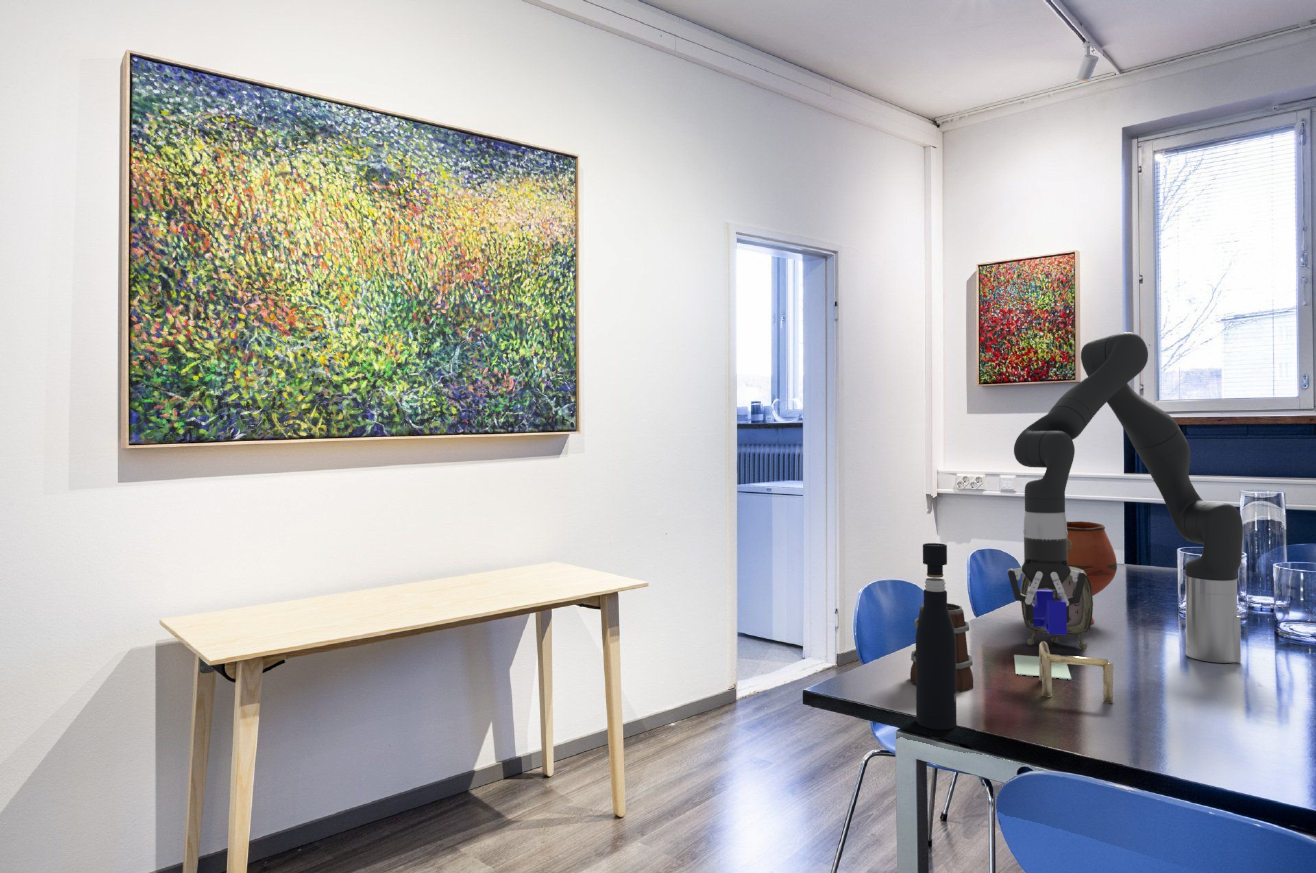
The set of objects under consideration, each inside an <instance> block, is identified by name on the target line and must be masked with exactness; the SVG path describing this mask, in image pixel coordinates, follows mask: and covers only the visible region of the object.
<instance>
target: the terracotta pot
mask: <svg viewBox="0 0 1316 873" xmlns="http://www.w3.org/2000/svg"><path fill="white" fill-rule="evenodd" d="M1105 528H1106V527H1105V525H1104V524H1102V523H1096V522H1091V521H1083V520H1082V521H1067V531H1068V535H1067V539H1069V540H1070V542H1071V543H1072V548H1071V550H1070V551H1068V552H1067V558H1068V566H1070V567H1076V568H1079V569H1081V570H1084V572H1085V573H1086V575H1087V577H1088V579H1089V581H1090V584H1091V588H1092V597H1094V596H1095V595H1097V594H1099V593H1100V592H1102V591H1104V589H1105V588H1106V587H1107V586H1108V585H1109V584H1110V583H1111V582H1112V581H1113V580H1114V578H1115V575H1116V573H1117V570H1118V564H1117V563H1118V561H1117V556H1116V553H1115V550H1114V548H1113V545H1112V543H1111V541H1110V539H1109V537H1108V535H1107V532H1106V529H1105ZM1069 547H1070V544H1069V543H1068V542H1067V549H1069ZM1094 623H1095V619H1094V617H1092V621H1091V625H1092V624H1094Z"/></svg>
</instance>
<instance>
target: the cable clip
mask: <svg viewBox="0 0 1316 873" xmlns="http://www.w3.org/2000/svg"><path fill="white" fill-rule="evenodd" d="M1032 625H1033V626H1034V627H1043V628H1044V629H1045V630H1046V631H1047V632H1048V633H1047V634H1048V635H1054V634H1055V635H1056V636H1058V635H1060V636H1062V635H1063V636H1066V635H1068V634H1067V614H1066V602H1065V601H1054V600H1053V591H1052V590H1037V591H1036V593H1035V605H1033V624H1032Z"/></svg>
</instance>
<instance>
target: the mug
mask: <svg viewBox="0 0 1316 873" xmlns="http://www.w3.org/2000/svg"><path fill="white" fill-rule="evenodd" d="M920 605H921V606H920V607H919V614H918V618H915V619H914V625H913V626H914V628H916V629H917V626H918V621H919V618H920V615H921V613H922V610H923V607H924V603H922V604H920ZM947 608H948V611H949V614H950V617H951V620H952V623H953V627H954V631H955V637H956V691H961V692H963V691H966V690H970V689H973V688H974V675H973V671H972V669H971V667H972V666H973V663H974V661H973V656H972V655H970V654H969V653H968V652H969V651H968V642H967V633H966V632H969V631H970V624H969V622H968V621H965V613H964V610H963V607H962V605H959V604H955V603H948V602H947ZM910 657H911V658H910V660H911V662H912V664H911V666H910V674H909V675H910V676H909V677H910V680H909V681H910V683H911V684H914V685H915V686H916V649H915V650H912V651H911V656H910Z"/></svg>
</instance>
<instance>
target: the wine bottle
mask: <svg viewBox="0 0 1316 873" xmlns="http://www.w3.org/2000/svg"><path fill="white" fill-rule="evenodd" d="M922 564H923V565H926V568H927V569H926V570H927V571H926V576H927V577H928V578H925V580H924V583H925V585H924V588H925V589H924V590H923V592H922V593H923V604H924V607H923V610H922V613H921V615H920V618H919V617H918V618H919V621H918V626H917V628H916V630H915V632H916V633H915V650H916V685H915V709H916V710H915V711H916V712H915V714H916V715H915V717H916V718H915V720H916V721H915V722H916V723H917V724H918V725H919V726H920V727H924V728H927V729H930V730H937V731H944V730H945V731H946V730H948V731H949V730H952V729H954V728H956V727H957V725H958V724H957V692H956V637H955V631H954V627H953V623H952V620H951V617H950V614H949V611H948V608H947V603H948V591H947V590H946V587H947V586H946V582H945V579H944V578H943V577H944V567H943V566H946V565H948V544H946V543H937V542H928V543H927V542H925V543H923V544H922Z"/></svg>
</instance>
